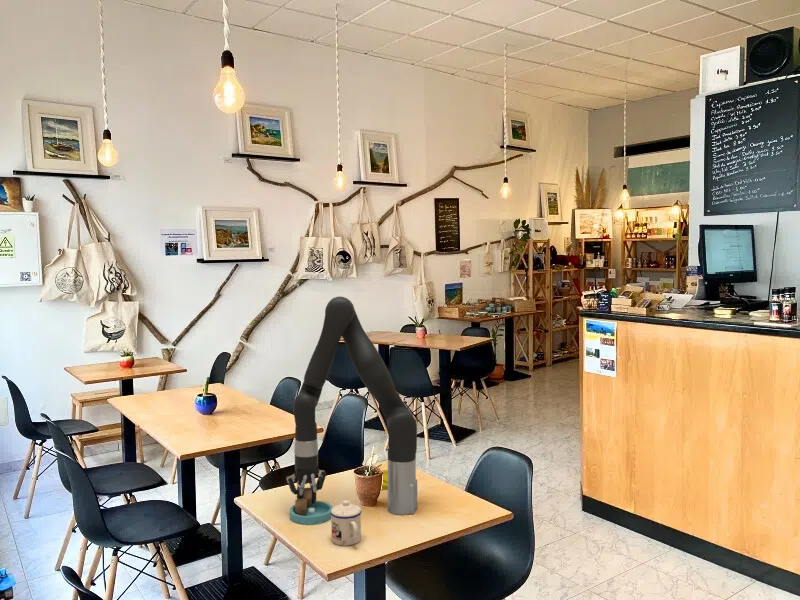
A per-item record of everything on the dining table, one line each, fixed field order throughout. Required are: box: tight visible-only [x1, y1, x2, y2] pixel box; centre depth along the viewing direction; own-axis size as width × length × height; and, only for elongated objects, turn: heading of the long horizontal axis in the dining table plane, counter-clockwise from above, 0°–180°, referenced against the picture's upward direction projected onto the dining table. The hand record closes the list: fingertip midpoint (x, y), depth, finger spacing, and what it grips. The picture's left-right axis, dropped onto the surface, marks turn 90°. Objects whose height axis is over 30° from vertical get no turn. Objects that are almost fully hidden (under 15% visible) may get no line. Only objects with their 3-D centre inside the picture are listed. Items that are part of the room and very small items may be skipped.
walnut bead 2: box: [302, 487, 312, 507], centre depth 209 cm, size 4×4×5 cm
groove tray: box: [289, 500, 334, 526], centre depth 207 cm, size 14×14×2 cm
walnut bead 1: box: [294, 498, 307, 516], centre depth 205 cm, size 4×4×5 cm
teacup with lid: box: [330, 499, 363, 547], centre depth 188 cm, size 12×9×12 cm
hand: (306, 503), depth 210 cm, fingers closed on walnut bead 2, 3 cm apart
